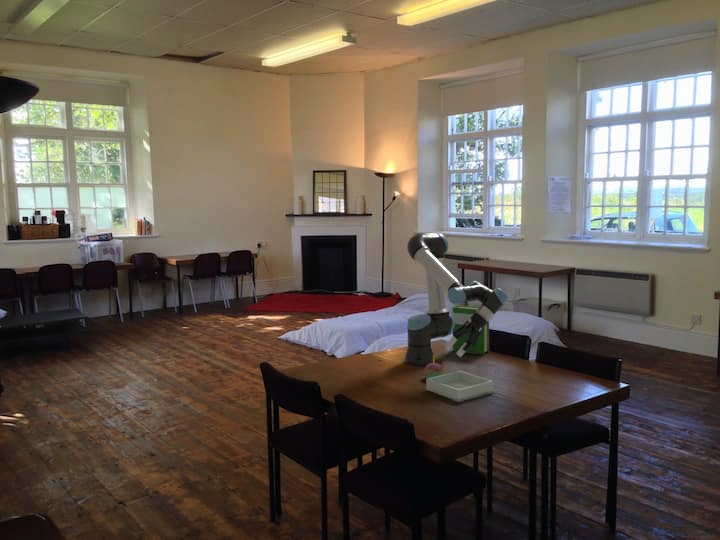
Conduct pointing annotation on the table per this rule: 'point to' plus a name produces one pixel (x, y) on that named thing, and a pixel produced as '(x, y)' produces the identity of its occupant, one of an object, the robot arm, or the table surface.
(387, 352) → the table surface
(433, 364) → the cupcake
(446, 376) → the box
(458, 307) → the hardback book
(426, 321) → the robot arm
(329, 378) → the table surface
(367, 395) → the table surface
